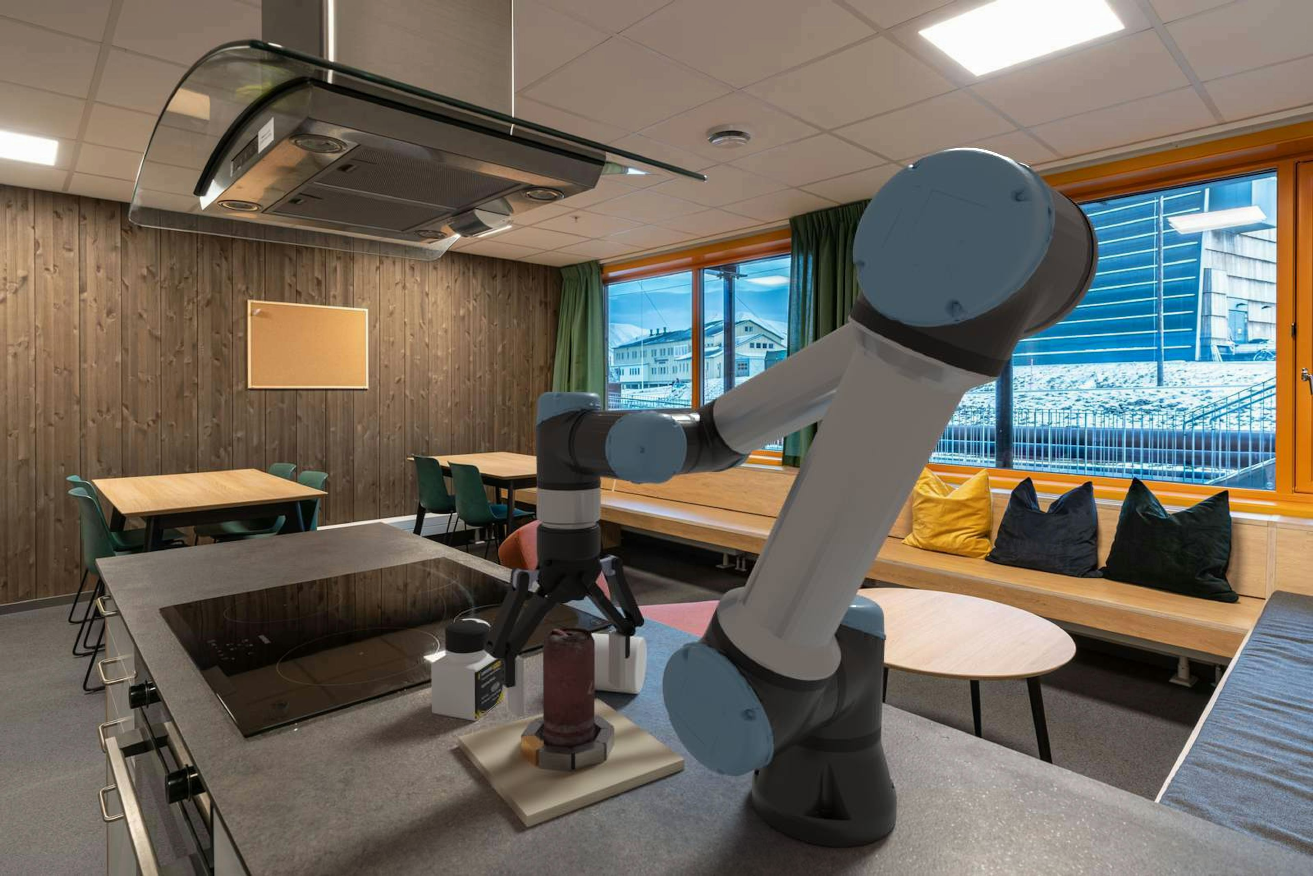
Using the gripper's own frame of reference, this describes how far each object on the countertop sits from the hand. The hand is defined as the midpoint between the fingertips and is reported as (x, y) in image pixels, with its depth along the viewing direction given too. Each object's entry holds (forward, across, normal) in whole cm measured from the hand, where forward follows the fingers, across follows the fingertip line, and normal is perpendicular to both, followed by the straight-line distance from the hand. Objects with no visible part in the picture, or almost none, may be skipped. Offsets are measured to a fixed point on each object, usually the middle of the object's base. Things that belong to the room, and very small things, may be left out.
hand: (568, 698), depth 86 cm
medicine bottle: (+8, +5, -20) cm, 22 cm away
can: (+6, 0, 0) cm, 6 cm away
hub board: (+7, 0, 0) cm, 7 cm away
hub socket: (+6, 0, 0) cm, 6 cm away
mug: (+8, -16, -16) cm, 24 cm away
